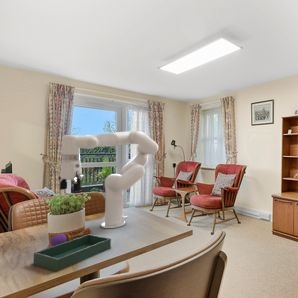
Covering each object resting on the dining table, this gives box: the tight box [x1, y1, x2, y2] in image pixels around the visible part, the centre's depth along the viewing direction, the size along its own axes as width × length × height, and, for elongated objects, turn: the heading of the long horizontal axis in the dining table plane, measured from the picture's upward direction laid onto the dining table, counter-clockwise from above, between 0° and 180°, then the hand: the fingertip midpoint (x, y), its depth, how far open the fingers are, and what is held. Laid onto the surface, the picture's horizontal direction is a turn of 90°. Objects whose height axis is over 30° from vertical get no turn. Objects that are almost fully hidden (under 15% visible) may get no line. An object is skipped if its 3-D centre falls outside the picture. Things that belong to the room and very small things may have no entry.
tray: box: [32, 233, 112, 272], centre depth 100 cm, size 23×14×5 cm, turn 161°
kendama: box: [49, 227, 92, 247], centre depth 115 cm, size 6×6×20 cm
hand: (70, 190), depth 122 cm, fingers open, 9 cm apart
